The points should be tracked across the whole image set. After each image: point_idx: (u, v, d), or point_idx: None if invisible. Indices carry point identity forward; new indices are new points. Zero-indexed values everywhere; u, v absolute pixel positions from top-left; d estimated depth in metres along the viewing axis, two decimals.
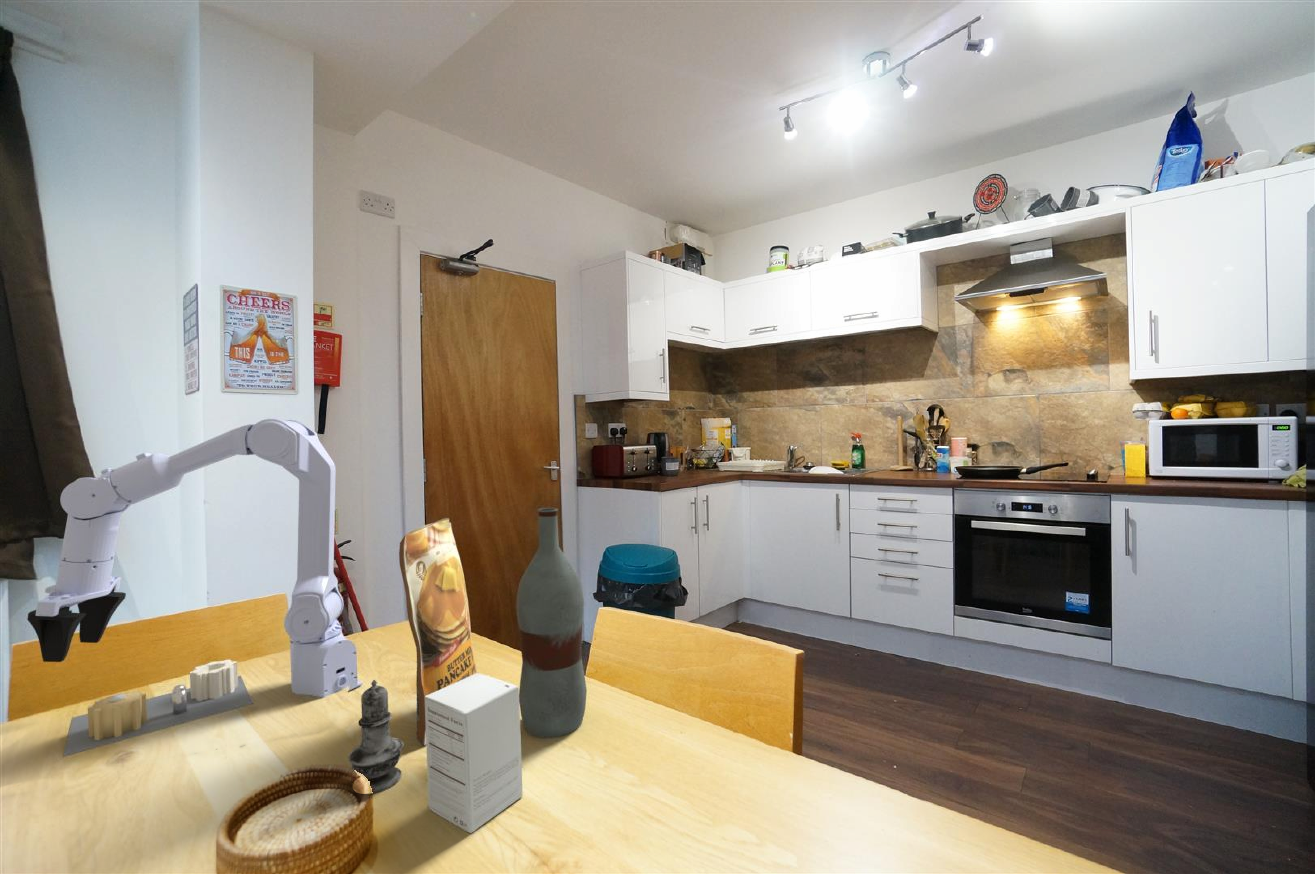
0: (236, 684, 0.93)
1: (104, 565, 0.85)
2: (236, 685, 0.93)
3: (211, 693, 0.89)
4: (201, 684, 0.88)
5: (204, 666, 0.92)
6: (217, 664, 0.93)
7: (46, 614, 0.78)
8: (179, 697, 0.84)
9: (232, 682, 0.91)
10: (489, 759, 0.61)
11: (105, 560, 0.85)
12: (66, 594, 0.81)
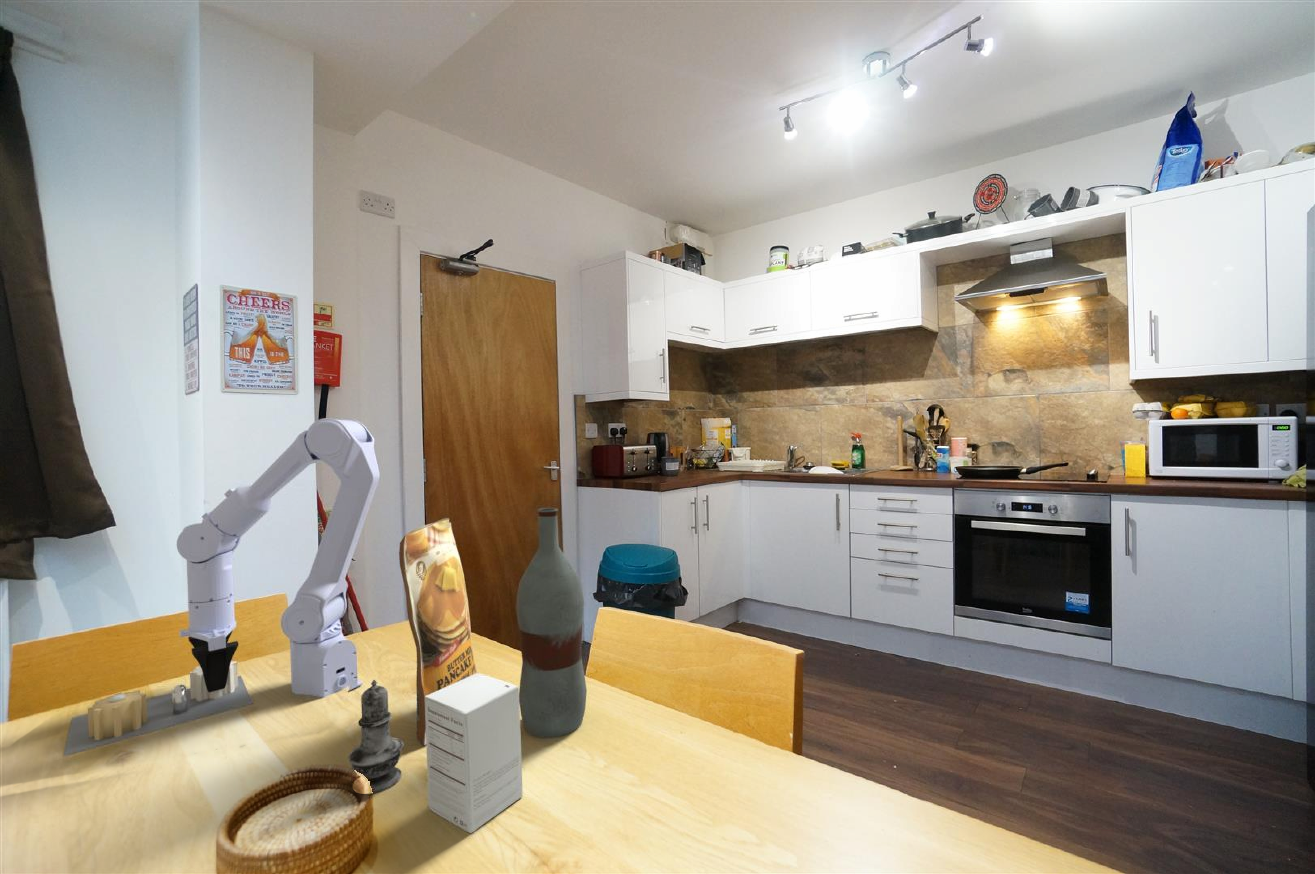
0: (236, 684, 0.93)
1: (232, 599, 0.92)
2: (236, 685, 0.93)
3: (211, 693, 0.89)
4: (201, 684, 0.88)
5: None
6: None
7: (219, 647, 0.86)
8: (179, 697, 0.84)
9: (232, 682, 0.91)
10: (489, 759, 0.61)
11: (232, 594, 0.92)
12: (213, 630, 0.89)
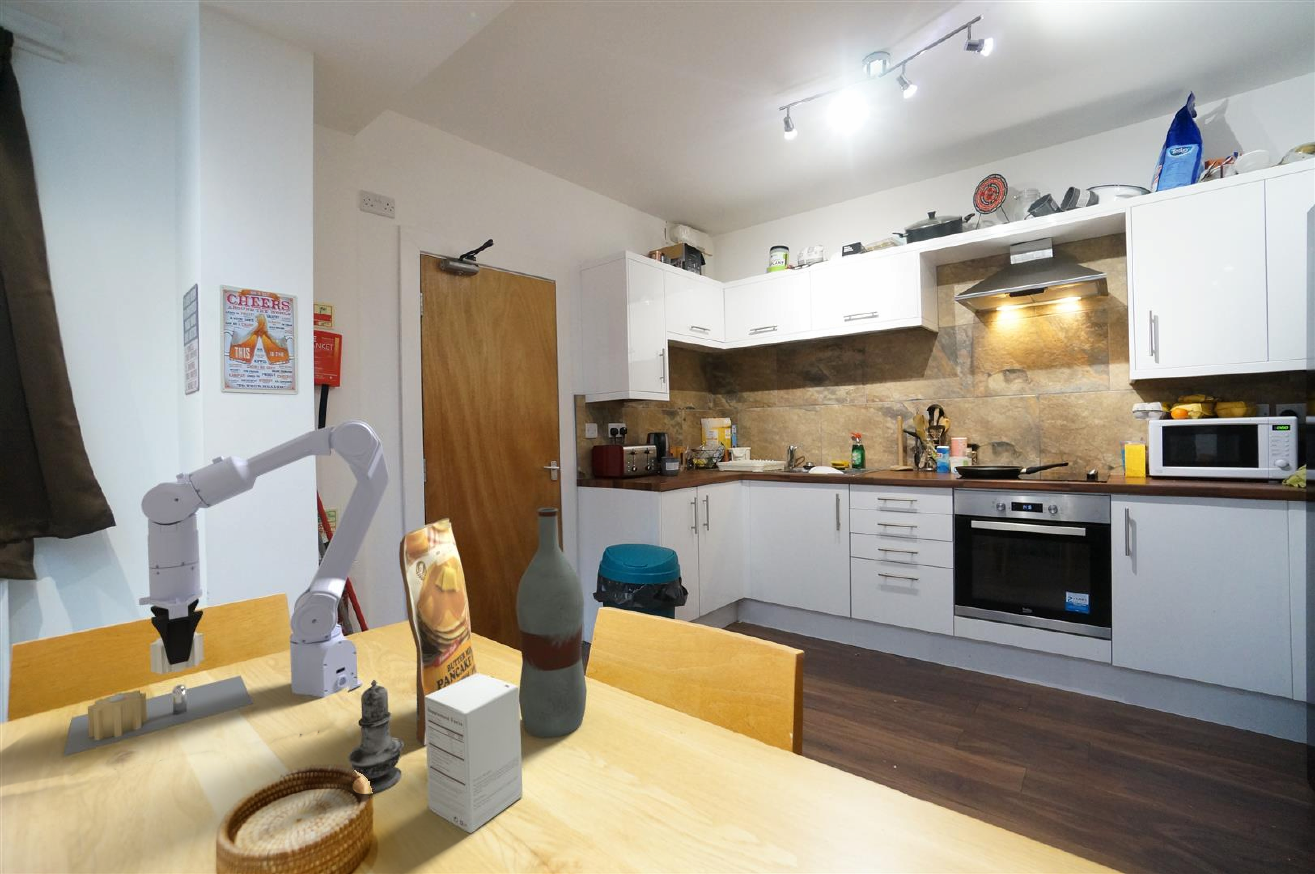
0: (202, 658, 0.86)
1: (198, 566, 0.86)
2: (202, 659, 0.86)
3: (173, 666, 0.82)
4: (162, 656, 0.82)
5: None
6: None
7: (180, 615, 0.79)
8: (179, 697, 0.84)
9: (197, 655, 0.85)
10: (489, 759, 0.61)
11: (198, 561, 0.86)
12: (176, 598, 0.82)
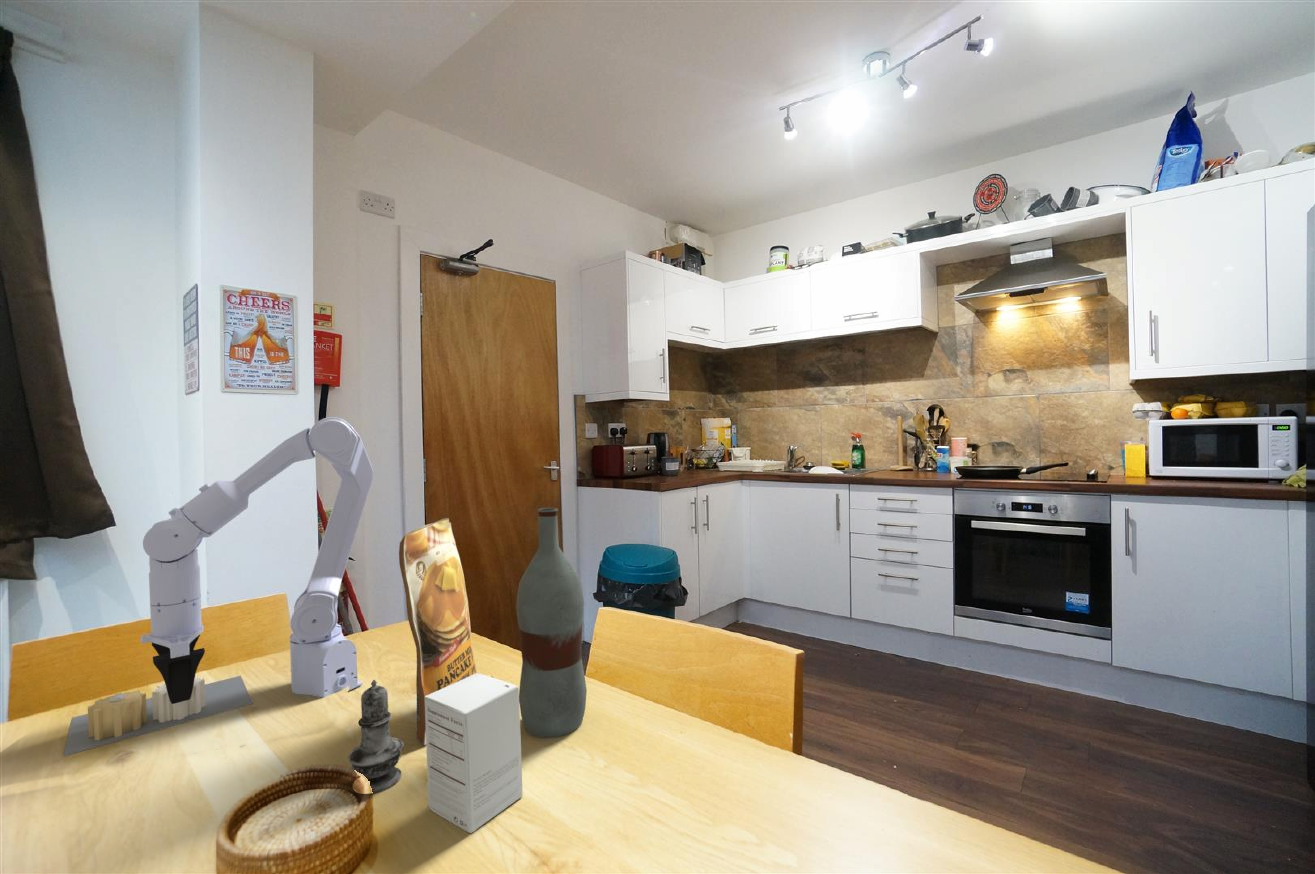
0: (203, 703, 0.86)
1: (199, 602, 0.86)
2: (203, 704, 0.86)
3: (175, 714, 0.83)
4: (164, 704, 0.82)
5: None
6: None
7: (182, 654, 0.79)
8: None
9: (198, 701, 0.85)
10: (489, 759, 0.61)
11: (199, 597, 0.86)
12: (177, 636, 0.82)
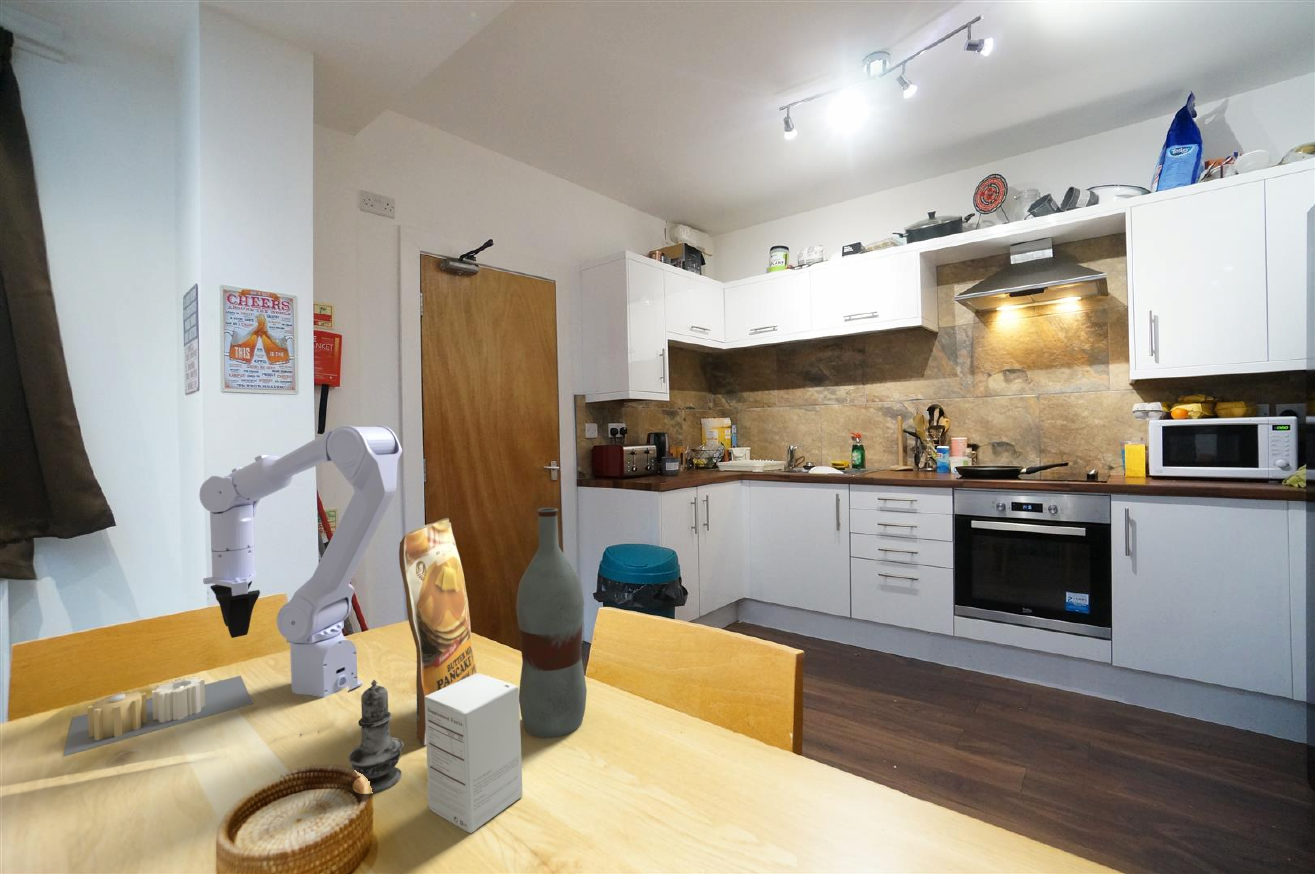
0: (203, 703, 0.86)
1: (253, 550, 0.96)
2: (203, 704, 0.86)
3: (175, 714, 0.83)
4: (164, 704, 0.82)
5: (168, 684, 0.85)
6: (183, 681, 0.86)
7: (241, 592, 0.90)
8: None
9: (198, 701, 0.85)
10: (489, 759, 0.61)
11: (253, 545, 0.96)
12: (236, 578, 0.93)
